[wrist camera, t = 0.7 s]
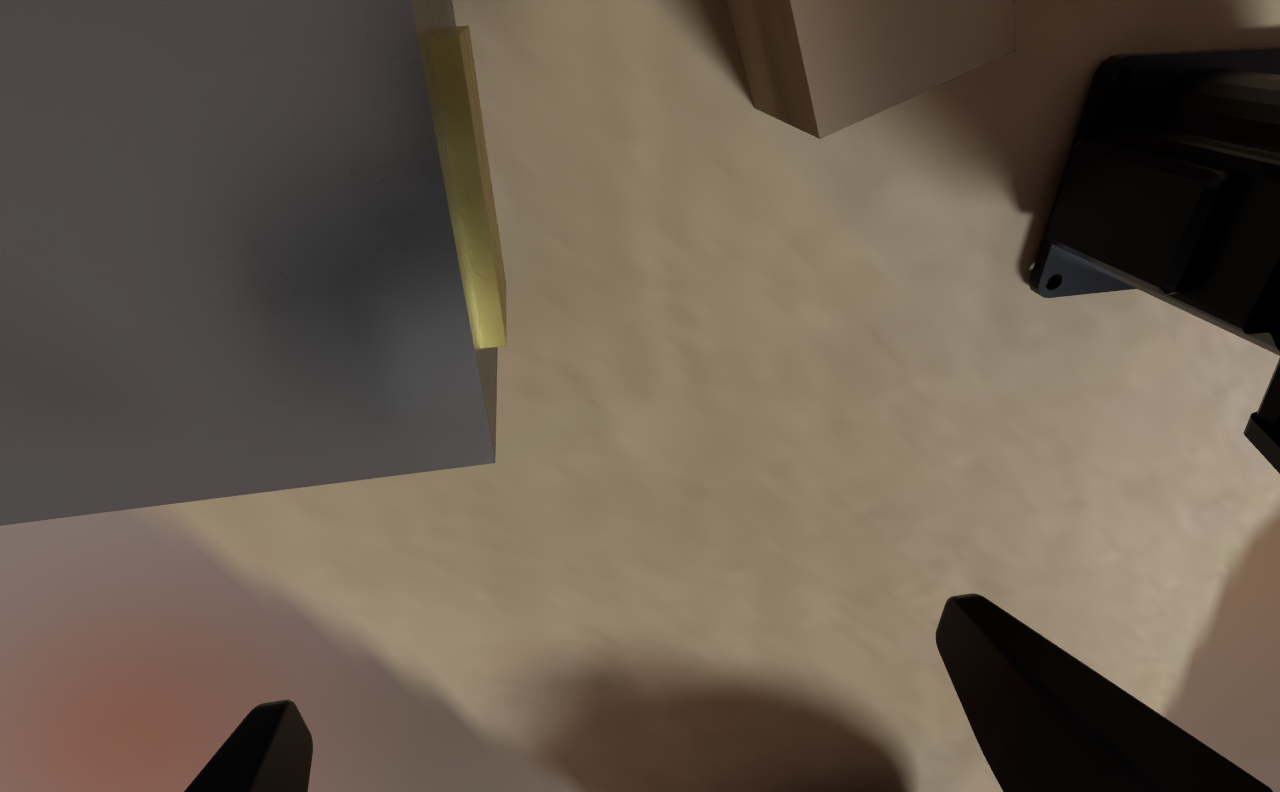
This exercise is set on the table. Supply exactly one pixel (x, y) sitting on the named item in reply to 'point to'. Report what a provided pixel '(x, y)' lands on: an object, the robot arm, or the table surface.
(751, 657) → the table surface
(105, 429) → the block
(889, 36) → the brown cube
